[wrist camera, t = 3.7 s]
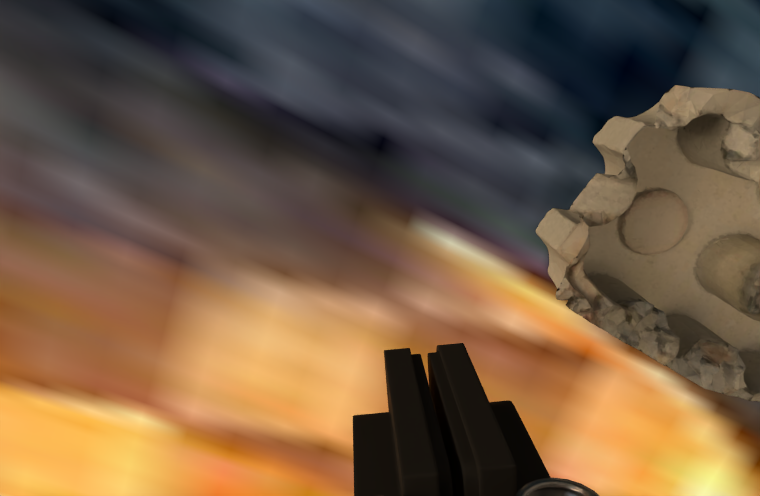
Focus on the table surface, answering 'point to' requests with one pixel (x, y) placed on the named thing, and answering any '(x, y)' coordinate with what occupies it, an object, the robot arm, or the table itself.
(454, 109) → the table surface
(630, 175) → the tan cratered rock
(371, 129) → the table surface
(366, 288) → the table surface
